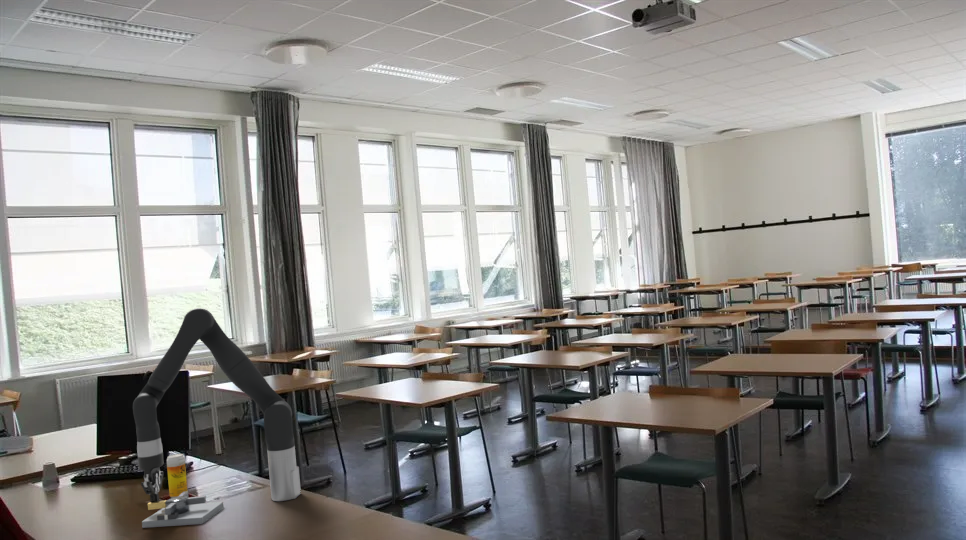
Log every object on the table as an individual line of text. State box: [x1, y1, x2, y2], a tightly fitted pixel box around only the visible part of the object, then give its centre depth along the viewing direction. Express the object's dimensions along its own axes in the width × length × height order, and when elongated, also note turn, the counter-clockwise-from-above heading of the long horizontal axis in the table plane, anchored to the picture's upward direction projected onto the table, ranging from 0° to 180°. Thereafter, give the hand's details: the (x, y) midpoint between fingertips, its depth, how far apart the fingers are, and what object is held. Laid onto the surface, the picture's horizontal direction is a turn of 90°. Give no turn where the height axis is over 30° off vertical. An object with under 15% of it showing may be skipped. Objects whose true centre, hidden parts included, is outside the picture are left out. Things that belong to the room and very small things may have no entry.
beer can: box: [166, 453, 188, 499], centre depth 252 cm, size 6×6×15 cm
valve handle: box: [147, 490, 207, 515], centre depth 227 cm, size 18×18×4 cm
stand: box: [141, 501, 225, 529], centre depth 227 cm, size 20×15×3 cm
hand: (155, 504), depth 228 cm, fingers closed
